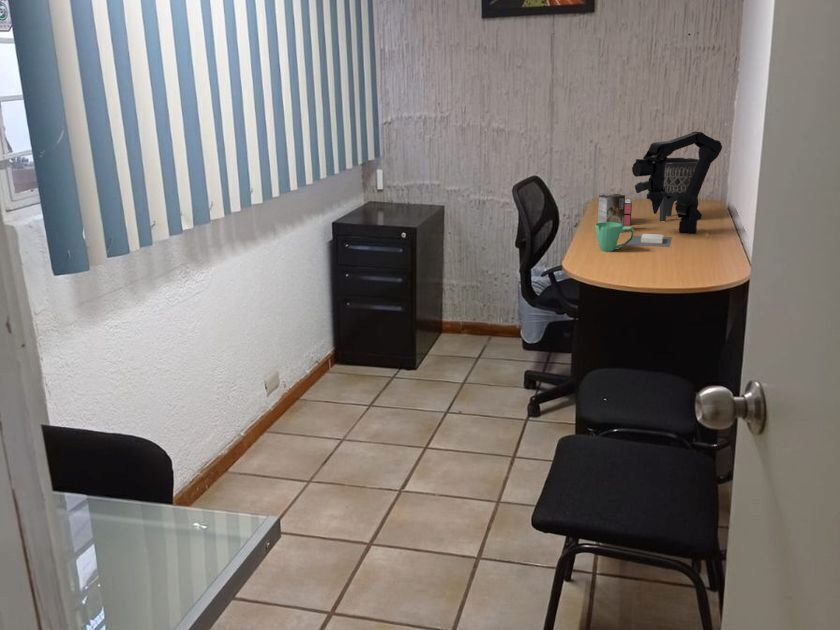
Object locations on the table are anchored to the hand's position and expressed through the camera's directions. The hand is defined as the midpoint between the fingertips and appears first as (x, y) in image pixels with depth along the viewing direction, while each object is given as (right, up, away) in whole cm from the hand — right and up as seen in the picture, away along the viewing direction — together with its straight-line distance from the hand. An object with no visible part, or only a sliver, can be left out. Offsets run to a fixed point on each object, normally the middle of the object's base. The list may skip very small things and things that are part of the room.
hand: (654, 213), depth 330 cm
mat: (-4, -12, -6) cm, 14 cm away
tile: (-2, -10, -3) cm, 10 cm away
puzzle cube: (-7, 0, +33) cm, 33 cm away
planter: (+20, +2, +38) cm, 43 cm away
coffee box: (-15, -7, +13) cm, 21 cm away
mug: (-21, -16, -17) cm, 31 cm away
